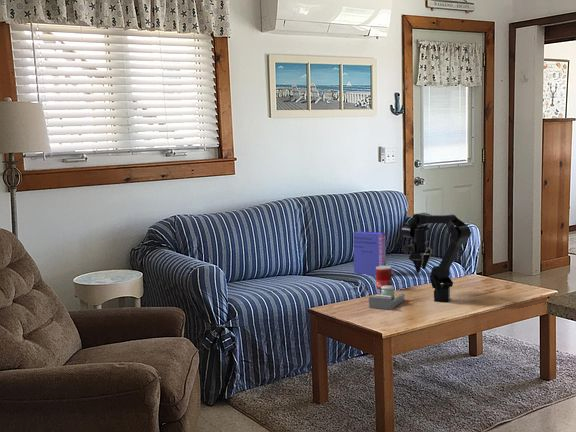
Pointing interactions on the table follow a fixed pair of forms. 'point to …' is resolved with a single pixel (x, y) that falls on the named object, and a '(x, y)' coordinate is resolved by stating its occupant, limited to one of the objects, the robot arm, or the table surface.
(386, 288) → the jar
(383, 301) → the pusher lane
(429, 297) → the table surface
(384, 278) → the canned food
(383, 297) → the plate
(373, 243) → the cereal box
